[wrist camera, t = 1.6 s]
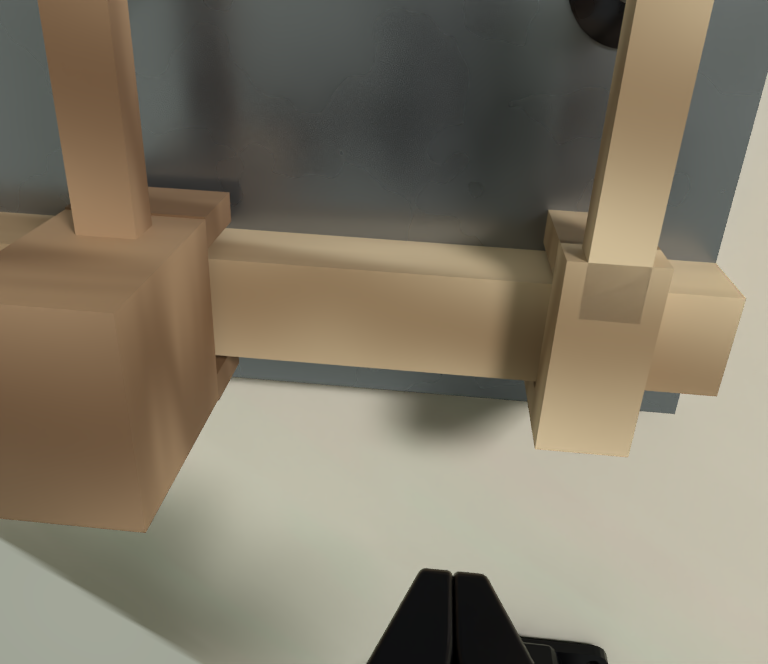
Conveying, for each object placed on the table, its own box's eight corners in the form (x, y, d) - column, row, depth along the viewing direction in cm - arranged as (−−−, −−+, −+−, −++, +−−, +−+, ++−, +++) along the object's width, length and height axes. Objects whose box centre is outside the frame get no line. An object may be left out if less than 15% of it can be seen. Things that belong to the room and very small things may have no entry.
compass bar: (681, 387, 18) (722, 465, 16) (-143, 319, 20) (-243, 380, 17) (809, -84, 14) (902, -96, 11) (-290, -132, 15) (-466, -153, 12)
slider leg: (240, 359, 19) (146, 534, 13) (128, 350, 19) (-14, 518, 13) (214, -112, 14) (46, -161, 8) (63, -118, 14) (-203, -170, 8)
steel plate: (664, 393, 20) (675, 415, 19) (-109, 329, 21) (-136, 347, 20) (873, -407, 12) (908, -439, 11) (-340, -428, 14) (-400, -457, 13)
